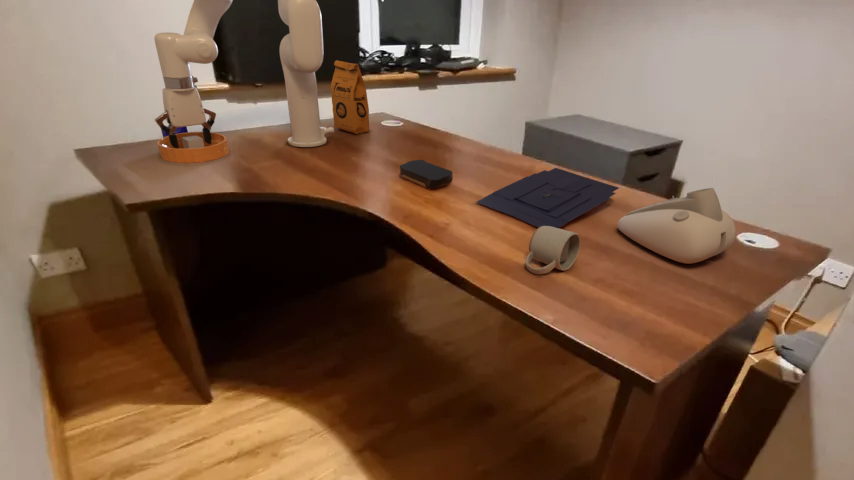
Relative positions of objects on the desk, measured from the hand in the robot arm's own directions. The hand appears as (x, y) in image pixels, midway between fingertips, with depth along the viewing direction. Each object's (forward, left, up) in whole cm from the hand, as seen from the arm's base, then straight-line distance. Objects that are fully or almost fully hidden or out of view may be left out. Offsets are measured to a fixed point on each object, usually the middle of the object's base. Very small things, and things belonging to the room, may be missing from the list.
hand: (192, 145), depth 160 cm
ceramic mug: (-24, +115, -3) cm, 118 cm away
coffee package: (-55, +4, -3) cm, 56 cm away
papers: (-52, +94, -3) cm, 108 cm away
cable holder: (-3, -24, -3) cm, 24 cm away
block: (0, 0, -2) cm, 2 cm away
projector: (-52, +126, -3) cm, 137 cm away
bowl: (0, 0, -3) cm, 3 cm away
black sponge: (-39, +61, -3) cm, 73 cm away
